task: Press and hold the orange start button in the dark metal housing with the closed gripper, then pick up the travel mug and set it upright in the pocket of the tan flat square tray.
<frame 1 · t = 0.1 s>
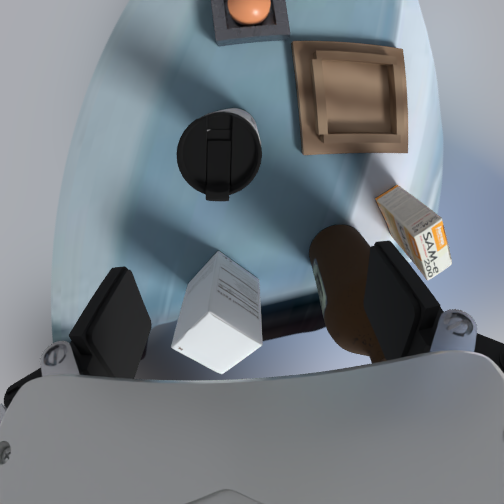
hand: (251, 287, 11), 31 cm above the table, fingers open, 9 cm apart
button housing: (249, 14, 28), on the table
olive oil: (336, 249, 46), on the table
start button: (249, 6, 25), point 4 cm above the table, slide at 0.0 cm
travel mug: (233, 131, 37), on the table
tan flat square tray: (353, 96, 34), on the table
supplement box 2: (223, 281, 49), on the table
supplement box: (393, 211, 42), on the table
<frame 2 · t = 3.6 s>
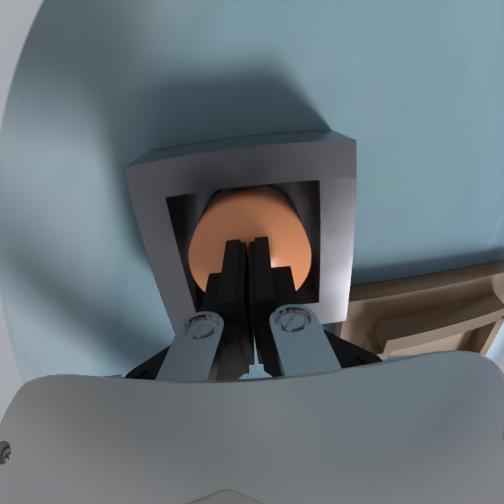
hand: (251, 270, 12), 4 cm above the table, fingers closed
button housing: (249, 221, 15), on the table
start button: (249, 246, 13), point 3 cm above the table, slide at 0.9 cm, touching gripper
tan flat square tray: (416, 347, 21), on the table
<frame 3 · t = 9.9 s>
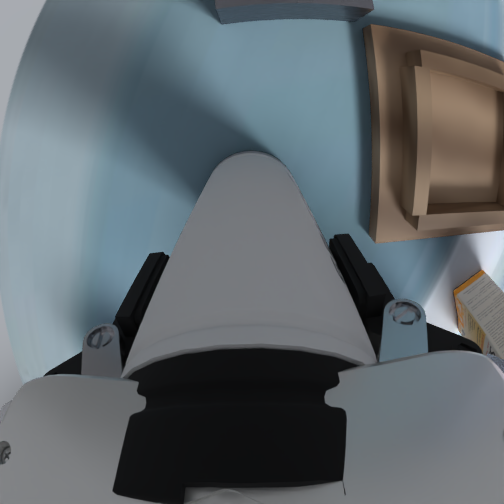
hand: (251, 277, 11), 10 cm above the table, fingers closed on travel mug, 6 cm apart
travel mug: (251, 194, 20), on the table, touching gripper
tan flat square tray: (455, 139, 17), on the table
supplement box: (468, 301, 26), on the table
when the fingers open (12 cm above the table, at t = 16.1 s): travel mug stays where it is, resting on tan flat square tray.
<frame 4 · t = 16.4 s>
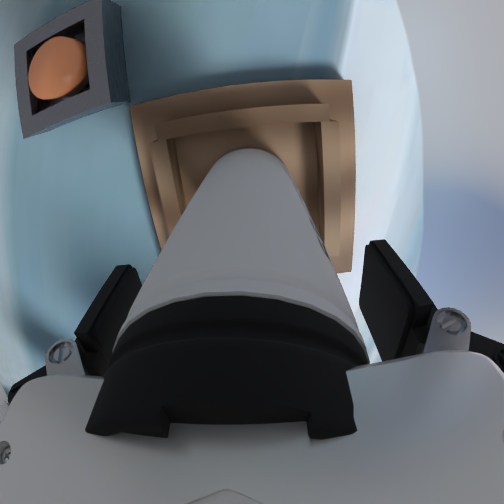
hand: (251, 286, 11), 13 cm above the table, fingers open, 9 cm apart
button housing: (78, 69, 17), on the table
start button: (60, 67, 14), point 3 cm above the table, slide at 1.0 cm
travel mug: (249, 189, 21), point 1 cm above the table, touching tan flat square tray
tan flat square tray: (251, 186, 22), on the table
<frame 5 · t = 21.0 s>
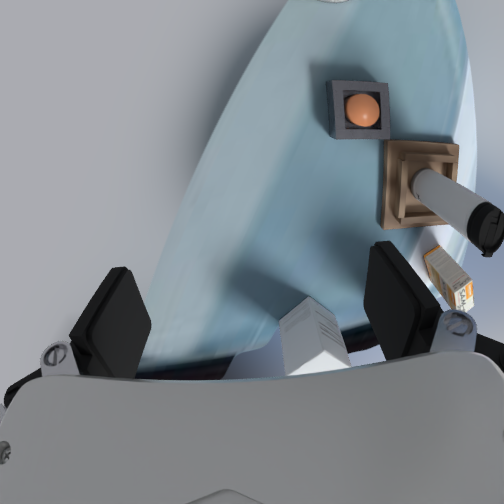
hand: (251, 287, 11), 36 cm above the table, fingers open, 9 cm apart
button housing: (355, 109, 39), on the table
start button: (361, 109, 37), point 3 cm above the table, slide at 1.0 cm
travel mug: (423, 184, 44), point 1 cm above the table, touching tan flat square tray
tan flat square tray: (420, 183, 45), on the table
supplement box 2: (307, 317, 60), on the table
supplement box: (434, 263, 53), on the table
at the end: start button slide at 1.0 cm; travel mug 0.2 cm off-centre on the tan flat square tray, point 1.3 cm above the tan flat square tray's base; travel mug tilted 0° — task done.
